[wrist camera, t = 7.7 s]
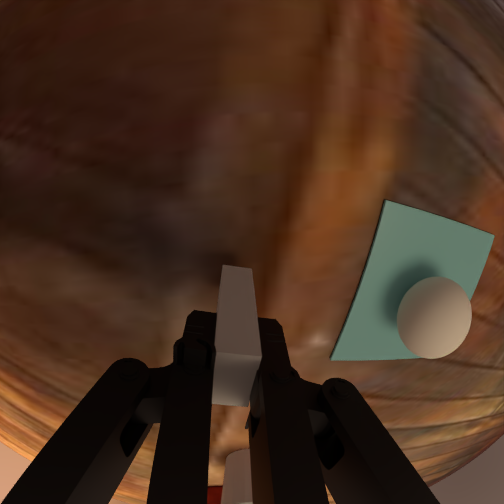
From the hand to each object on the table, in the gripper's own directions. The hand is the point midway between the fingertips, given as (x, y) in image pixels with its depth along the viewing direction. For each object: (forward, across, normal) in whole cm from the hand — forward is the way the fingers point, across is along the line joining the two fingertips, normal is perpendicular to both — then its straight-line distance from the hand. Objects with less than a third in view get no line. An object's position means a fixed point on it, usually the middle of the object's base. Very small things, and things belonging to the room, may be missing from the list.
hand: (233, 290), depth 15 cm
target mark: (+2, +14, 0) cm, 14 cm away
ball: (-1, +13, 0) cm, 13 cm away
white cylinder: (+2, +5, -23) cm, 24 cm away
